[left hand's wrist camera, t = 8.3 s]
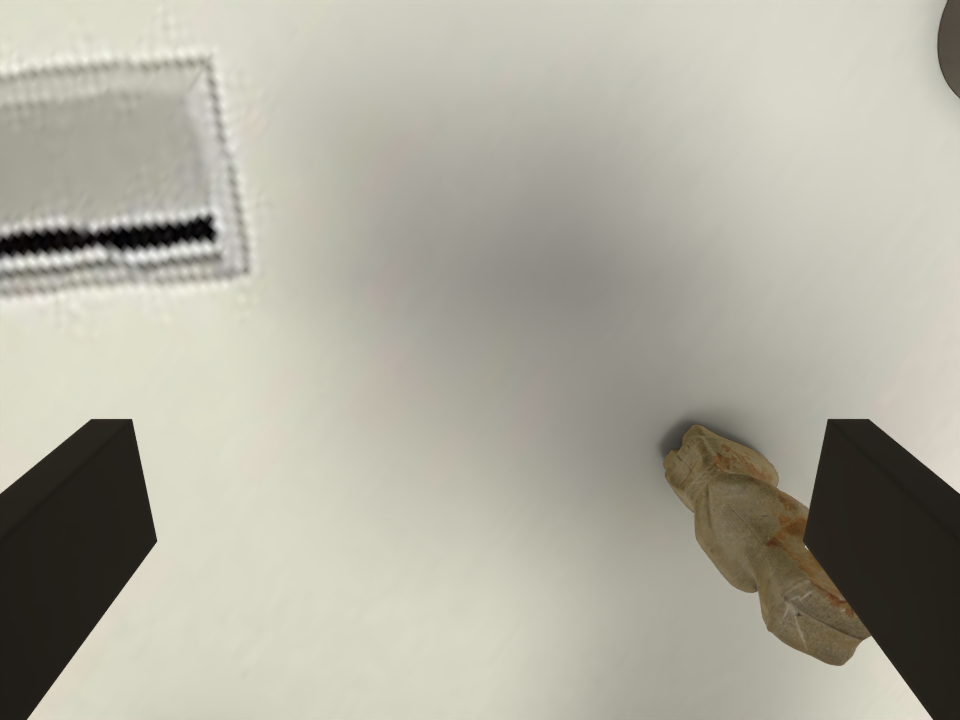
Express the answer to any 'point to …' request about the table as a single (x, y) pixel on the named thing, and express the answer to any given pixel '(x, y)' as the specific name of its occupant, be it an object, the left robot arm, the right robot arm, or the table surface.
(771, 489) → the sculpture
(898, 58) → the table surface
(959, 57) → the jar
